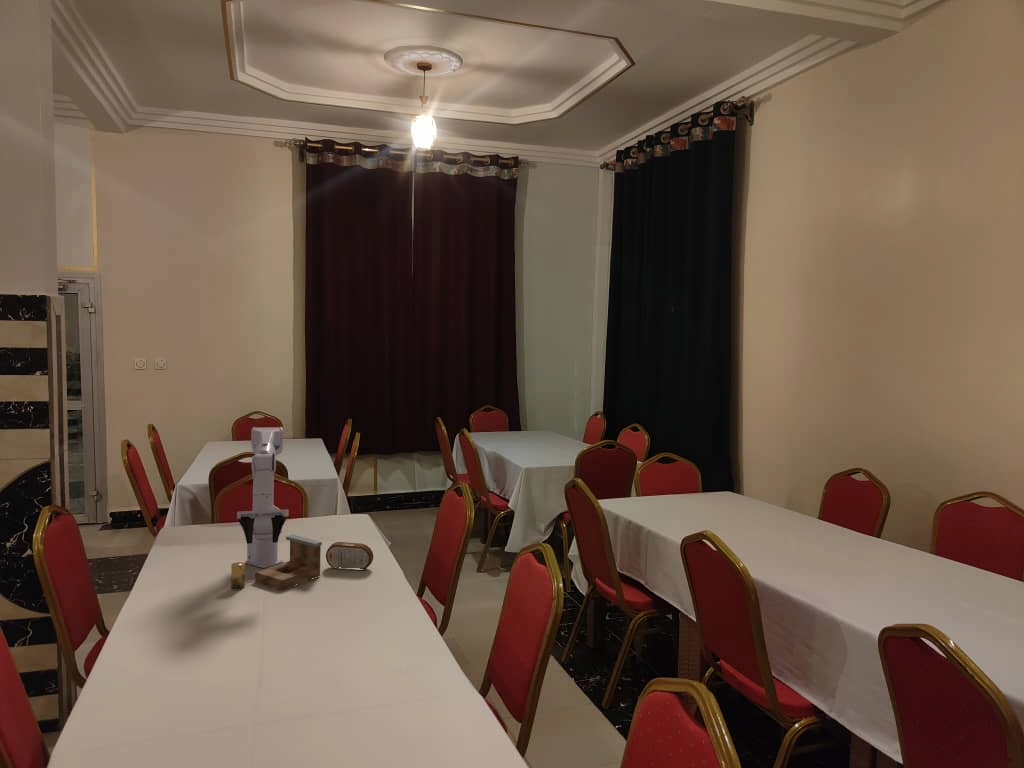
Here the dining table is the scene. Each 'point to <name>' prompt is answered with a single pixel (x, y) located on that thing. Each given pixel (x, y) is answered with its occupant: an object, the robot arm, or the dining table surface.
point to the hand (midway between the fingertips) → (262, 543)
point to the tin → (349, 555)
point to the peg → (238, 575)
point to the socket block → (293, 565)
